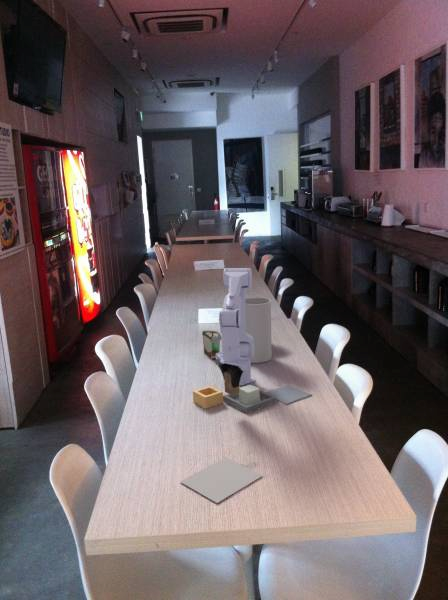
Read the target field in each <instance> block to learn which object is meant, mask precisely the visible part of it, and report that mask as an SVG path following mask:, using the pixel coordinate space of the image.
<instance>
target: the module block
mask: <svg viewBox="0 0 448 600" xmlns="http://www.w3.org/2000/svg"><path fill="white" fill-rule="evenodd" d="M259 390H260V388H258V387H257V386H254V385H252V384H247V385H245V386H242V387H241V386H240V387H239V397H238V402H240V403H242V404H244V405H246V406H248V405H251V404H254V403H257V402H260V401H261V400H260V398H261V397H260V392H259Z"/></svg>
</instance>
